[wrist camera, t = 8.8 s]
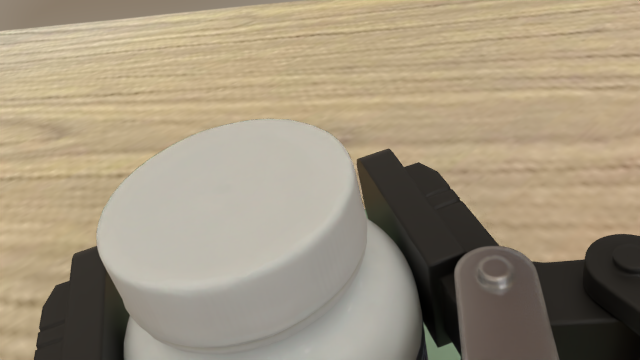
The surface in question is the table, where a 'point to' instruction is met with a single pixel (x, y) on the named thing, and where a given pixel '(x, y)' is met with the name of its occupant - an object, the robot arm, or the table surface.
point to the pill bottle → (256, 253)
